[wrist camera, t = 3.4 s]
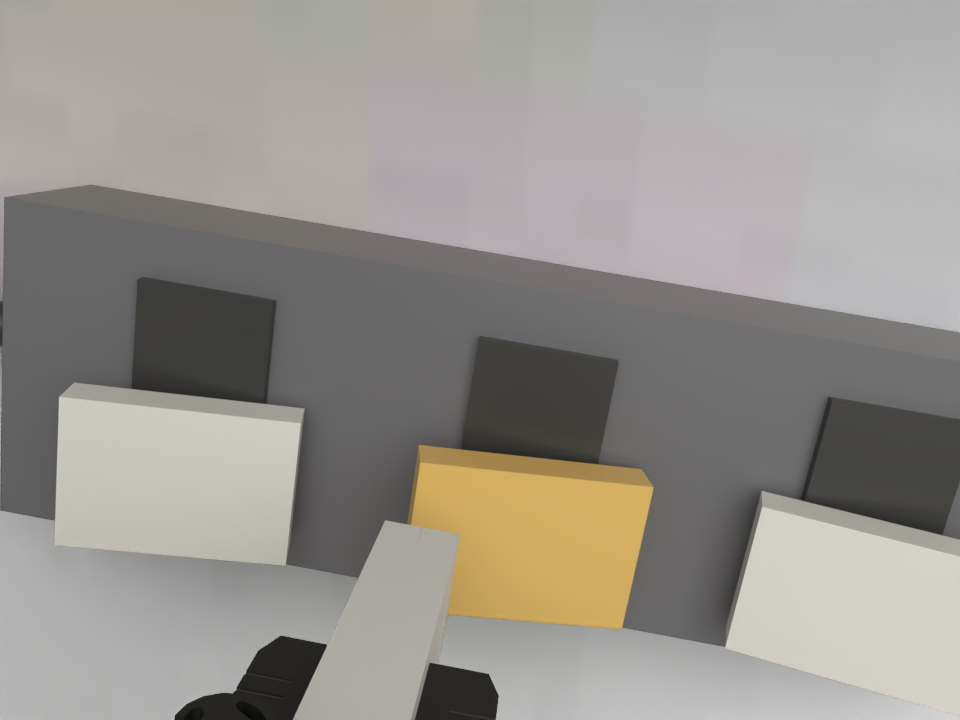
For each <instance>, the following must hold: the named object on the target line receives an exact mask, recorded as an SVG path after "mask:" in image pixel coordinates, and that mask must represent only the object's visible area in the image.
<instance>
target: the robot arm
mask: <svg viewBox="0 0 960 720" xmlns="http://www.w3.org/2000/svg"><path fill="white" fill-rule="evenodd" d="M459 538H460V534H455V533H450V532H445V531H439V530H434V529H429V528H424V527H418V526H413V525H408V524H402V523H397V522H392V521H386V520H385V522H384V524H383V526H382V528H381V531H380V533H379V535H378V537H377V539H376V541H375V543H374V546H373V548H372V550H371V552H370V554H369V556H368V559H367V561H366V563H365V565H364V567H363V569H362V572H361V574H360V576H359V578H358V580H357V582H356V585H355V587H354V589H353V591H352V593H351V595H350V597H349V600H348V602H347V604H346V606H345V608H344V610H343V613H342V615H341V617H340V619H339V621H338V623H337V626H336V628H335V630H334V632H333V634H332V636H331V638H330V641H329V643H328V645H325V644H320V643H315V642H310V641H305V640H300V639H295V638H290V637H285V636H280V637H278V638H277V639H275V640H274V641H272V642H271V643H269V644H268V645H266V646H265V647H263V648H262V649H260V650H259V651H258V652H257V654H256V656H255V657H254V659H253V661H252V663H251V664H250V666H249V668H248V669H247V672H246V675H244V676H243V678H242V680H241V681H240V683H239V685H238V686H237V690H236V691H234V693H233V694H231V693H220V694H214V695H208V696H203V697H201V698H199V699H197V700H195V701H192V702H190V703H188V704H186V705H185V706H184V707H183V708H182V709H181V710H180V711H179V712H178V713H177V714H176V715H175V720H496V713H497V705H498V697H499V696H498V693H497V691H496V689H495V687H494V685H493V683H492V680H491V678H490V676H489V674H485V673H480V672H475V671H470V670H465V669H460V668H454V667H449V666H444V665H439V664H438V662H439V658H440V653H441V647H442V641H443V635H444V629H445V623H446V617H447V611H448V605H449V599H450V593H451V587H452V581H453V575H454V569H455V563H456V557H457V550H458V544H459Z"/></svg>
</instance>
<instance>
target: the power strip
mask: <svg viewBox="0 0 960 720" xmlns="http://www.w3.org/2000/svg"><path fill="white" fill-rule="evenodd" d="M0 346H2V418H1V491H0V510H2V511H7V512H12V513H18V514H23V515H28V516H33V517H39V518H44V519H49V520H55V510H56V478H57V447H58V415H59V396H60V395H62V394H63V393H64V392H65V391H66V390H67V389H68V388H69V387H70V386H71V385H72V384H73V383H82V384H91V385H100V386H109V387H118V388H127V389H136V390H145V391H154V392H162V393H171V394H180V395H189V396H198V397H207V398H216V399H225V400H234V401H243V402H252V403H260V404H269V405H278V406H287V407H296V408H305V411H304V420H303V429H302V438H301V447H300V456H299V466H298V475H297V484H296V493H295V502H294V511H293V520H292V529H291V539H290V547H289V551H288V556H287V561H286V564H288V565H294V566H299V567H304V568H309V569H315V570H320V571H325V572H331V573H336V574H341V575H347V576H352V577H357V578H359V576H360V574H361V572H362V569H363V567H364V565H365V563H366V561H367V559H368V556H369V554H370V552H371V550H372V548H373V546H374V543H375V541H376V539H377V537H378V535H379V533H380V531H381V528H382V526H383V524H384V522H385V520H386V521H392V522H397V523H402V524H407V521H408V514H409V508H410V501H411V494H412V487H413V480H414V474H415V467H416V460H417V453H418V447H419V445H424V446H433V447H443V448H452V449H461V450H470V451H479V452H489V453H498V454H507V455H516V456H525V457H535V458H544V459H553V460H562V461H571V462H581V463H590V464H599V465H608V466H617V467H627V468H636V469H642V470H643V472H644V473H645V475H646V476H647V478H648V479H649V481H650V482H651V484H652V485H653V487H654V489H653V493H652V497H651V502H650V506H649V511H648V515H647V520H646V524H645V528H644V533H643V537H642V542H641V546H640V551H639V555H638V560H637V564H636V568H635V573H634V577H633V582H632V586H631V591H630V595H629V599H628V604H627V608H626V613H625V617H624V622H623V626H622V627H623V628H628V629H633V630H639V631H644V632H649V633H655V634H660V635H665V636H670V637H676V638H681V639H686V640H692V641H697V642H702V643H708V644H713V645H718V646H724V647H725V638H726V625H727V621H728V618H729V614H730V610H731V606H732V602H733V598H734V595H735V591H736V587H737V583H738V579H739V575H740V572H741V568H742V564H743V560H744V556H745V552H746V549H747V545H748V541H749V537H750V533H751V529H752V526H753V522H754V518H755V514H756V510H757V506H758V503H759V499H760V495H761V491H765V492H769V493H773V494H777V495H781V496H785V497H789V498H793V499H797V500H801V501H805V502H809V503H813V504H817V505H821V506H825V507H830V508H834V509H838V510H842V511H846V512H850V513H854V514H858V515H862V516H866V517H870V518H874V519H878V520H882V521H886V522H890V523H894V524H898V525H902V526H906V527H910V528H914V529H919V530H923V531H927V532H931V533H935V534H939V535H943V536H947V537H951V538H955V539H959V540H960V333H958V332H953V331H947V330H941V329H935V328H929V327H923V326H917V325H911V324H906V323H900V322H894V321H888V320H882V319H876V318H870V317H864V316H858V315H853V314H847V313H841V312H835V311H829V310H823V309H817V308H811V307H806V306H800V305H794V304H788V303H782V302H776V301H770V300H764V299H759V298H753V297H747V296H741V295H735V294H729V293H723V292H717V291H712V290H706V289H700V288H694V287H688V286H682V285H676V284H670V283H665V282H659V281H653V280H647V279H641V278H635V277H629V276H623V275H618V274H612V273H606V272H600V271H594V270H588V269H582V268H576V267H571V266H565V265H559V264H553V263H547V262H541V261H535V260H529V259H524V258H518V257H512V256H506V255H500V254H494V253H488V252H482V251H477V250H471V249H465V248H459V247H453V246H447V245H441V244H435V243H430V242H424V241H418V240H412V239H406V238H400V237H394V236H388V235H383V234H377V233H371V232H365V231H359V230H353V229H347V228H341V227H336V226H330V225H324V224H318V223H312V222H306V221H300V220H294V219H289V218H283V217H277V216H271V215H265V214H259V213H253V212H247V211H242V210H236V209H230V208H224V207H218V206H212V205H206V204H200V203H195V202H189V201H183V200H177V199H171V198H165V197H159V196H153V195H148V194H142V193H136V192H130V191H124V190H118V189H112V188H106V187H101V186H95V185H87V186H80V187H73V188H66V189H59V190H52V191H45V192H38V193H31V194H24V195H17V196H10V197H5V200H4V273H3V302H1V301H0Z"/></svg>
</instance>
